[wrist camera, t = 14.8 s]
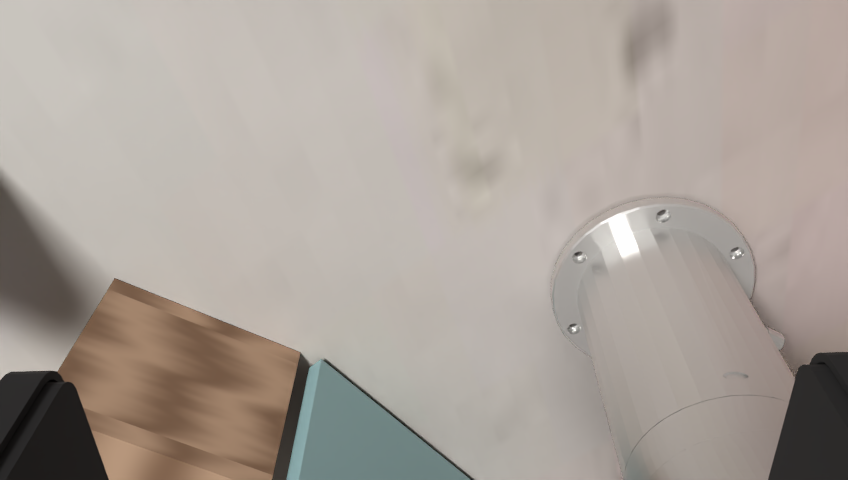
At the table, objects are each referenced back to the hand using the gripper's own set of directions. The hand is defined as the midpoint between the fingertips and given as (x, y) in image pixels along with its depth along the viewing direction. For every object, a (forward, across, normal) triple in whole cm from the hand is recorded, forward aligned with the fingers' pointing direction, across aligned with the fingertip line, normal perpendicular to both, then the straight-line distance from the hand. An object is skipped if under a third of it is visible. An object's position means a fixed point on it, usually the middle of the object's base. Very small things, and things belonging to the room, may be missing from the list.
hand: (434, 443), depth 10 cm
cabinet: (+34, +21, +32) cm, 51 cm away
